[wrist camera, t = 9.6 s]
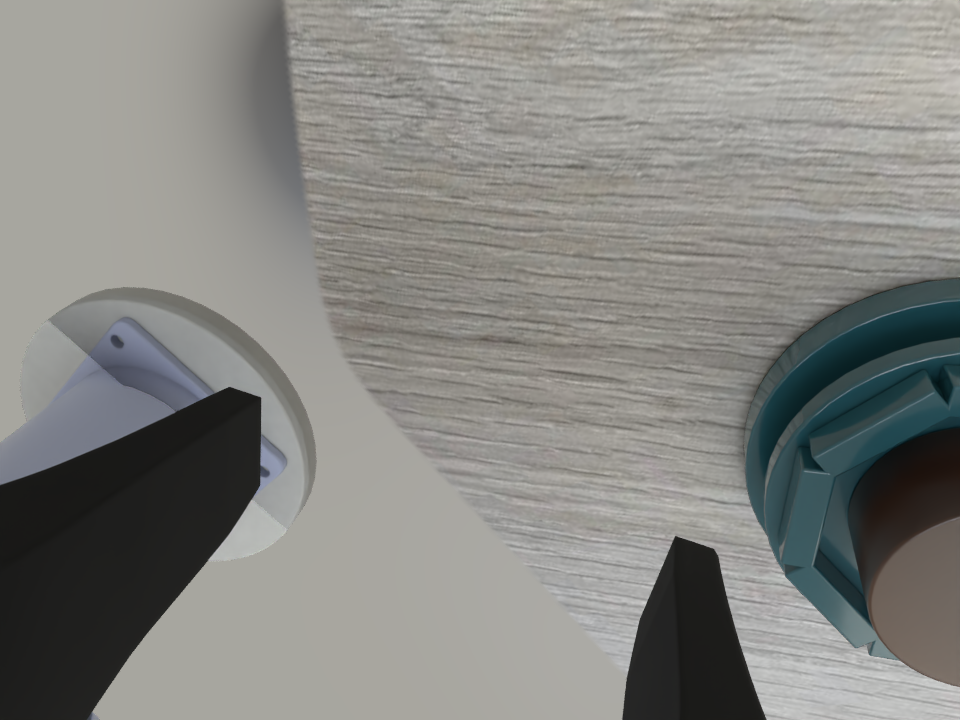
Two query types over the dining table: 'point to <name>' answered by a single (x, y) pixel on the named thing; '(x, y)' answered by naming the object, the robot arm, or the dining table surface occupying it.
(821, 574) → the stand
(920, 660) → the cylinder
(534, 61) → the dining table surface
